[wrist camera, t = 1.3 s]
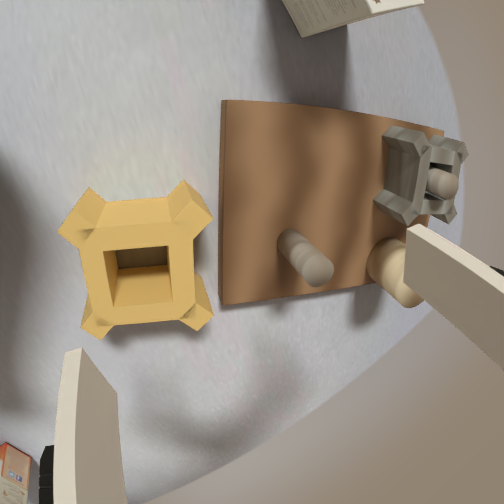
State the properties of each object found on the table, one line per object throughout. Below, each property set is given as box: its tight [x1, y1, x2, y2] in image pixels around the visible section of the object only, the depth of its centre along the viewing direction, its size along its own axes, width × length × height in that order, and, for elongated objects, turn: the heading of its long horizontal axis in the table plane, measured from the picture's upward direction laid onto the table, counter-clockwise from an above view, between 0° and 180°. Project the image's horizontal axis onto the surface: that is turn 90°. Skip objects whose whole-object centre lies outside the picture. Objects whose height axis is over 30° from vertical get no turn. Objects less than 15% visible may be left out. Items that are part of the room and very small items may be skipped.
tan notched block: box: [57, 180, 214, 340], centre depth 24 cm, size 11×11×6 cm
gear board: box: [218, 100, 468, 308], centre depth 27 cm, size 24×18×8 cm
